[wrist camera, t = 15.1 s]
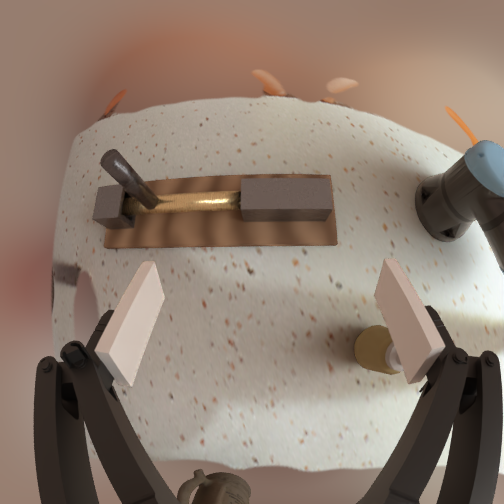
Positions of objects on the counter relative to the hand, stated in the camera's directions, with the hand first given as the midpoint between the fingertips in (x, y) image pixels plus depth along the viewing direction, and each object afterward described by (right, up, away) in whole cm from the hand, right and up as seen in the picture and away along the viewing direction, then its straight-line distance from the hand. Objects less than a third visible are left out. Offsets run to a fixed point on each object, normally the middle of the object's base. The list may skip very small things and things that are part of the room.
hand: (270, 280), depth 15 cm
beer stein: (-8, -46, +25) cm, 53 cm away
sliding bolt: (-15, +10, +34) cm, 38 cm away
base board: (-8, +9, +37) cm, 39 cm away
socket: (-27, +9, +37) cm, 47 cm away
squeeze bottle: (+20, -16, +30) cm, 40 cm away
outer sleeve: (+5, +10, +35) cm, 37 cm away
